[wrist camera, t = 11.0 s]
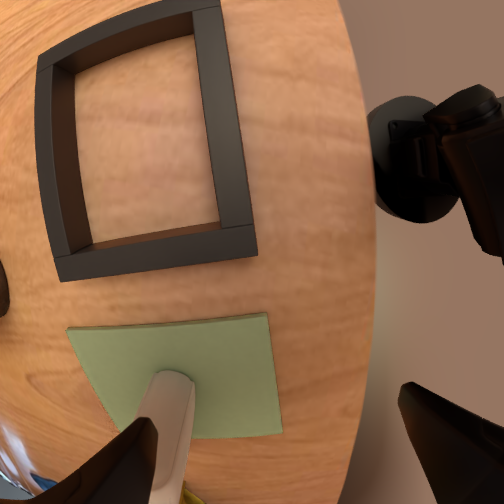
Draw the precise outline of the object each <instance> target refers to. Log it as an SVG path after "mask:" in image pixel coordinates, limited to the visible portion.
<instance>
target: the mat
mask: <svg viewBox="0 0 504 504" xmlns="http://www.w3.org/2000/svg"><path fill="white" fill-rule="evenodd" d="M65 331H66V333H67V336H68V338H69V340H70V342H71V345H72V347H73V349H74V351H75V353H76V356H77V358H78V360H79V362H80V364H81V366H82V368H83V370H84V372H85V374H86V376H87V378H88V379H89V381H90V383H91V385H92V387H93V389H94V390H95V392H96V394H97V396H98V398H99V399H100V401H101V403H102V404H103V406H104V408H105V409H106V411H107V413H108V414H109V416H110V417H111V419H112V420H113V422H114V423H115V425H116V427H117V428H118V430H119V431H120V432H122V431H123V430H124V429H125V428H127V427H128V426H129V425H130V424H131V423H132V422H133V419H134V417H135V414H136V412H137V410H138V407H139V405H140V402H141V400H142V398H143V395H144V393H145V391H146V388H147V386H148V384H149V381H150V379H151V377H152V375H153V374H154V373H159V372H160V371H165V370H170V371H176V372H179V373H181V374H184V375H185V376H187V377H188V378H189V379H190V381H193V382H194V384H195V411H194V421H193V429H192V435H191V439H214V438H239V437H253V436H264V435H273V434H281V433H283V428H282V421H281V413H280V406H279V398H278V391H277V383H276V376H275V368H274V361H273V353H272V346H271V339H270V332H269V324H268V317H267V312H265V313H257V314H250V315H242V316H233V317H225V318H216V319H206V320H196V321H185V322H173V323H160V324H146V325H129V326H107V327H69V328H67V329H66V330H65Z"/></svg>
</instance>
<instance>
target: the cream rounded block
mask: <svg viewBox="0 0 504 504" xmlns="http://www.w3.org/2000/svg"><path fill="white" fill-rule="evenodd" d="M194 411H195V384H194V382H193V381H190V379H189V378H188V377H187V376H185V375H184V374H181V373H179V372H176V371H170V370H165V371H160V372H159V373H154V374H153V375H152V377H151V379H150V381H149V384H148V386H147V388H146V391H145V393H144V395H143V398H142V400H141V402H140V405H139V407H138V410H137V412H136V414H135V417H134V419H133V421H135V420H136V419H137V418H138V417H149V418H150V419H151V420H152V422H153V424H154V425H155V427H156V429H157V431H158V446H157V458H156V469H155V474H154V479H153V484H152V489H151V494H150V499H149V504H179V500H180V495H181V489H182V484H183V479H184V474H185V469H186V464H187V459H188V453H189V447H190V441H191V435H192V429H193V421H194Z"/></svg>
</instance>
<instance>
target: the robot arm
mask: <svg viewBox="0 0 504 504" xmlns="http://www.w3.org/2000/svg"><path fill="white" fill-rule="evenodd" d="M422 116H423V118H424V120H425V122H424V121H410V120H391V121H389V123H388V130H389V136H390V144H389V146H390V154H391V162H392V171H393V174H394V177H395V189H396V195H397V197H399V198H402V199H406V198H418V197H430V196H444V195H448V196H453V197H459V198H460V199H461V201H462V204H463V207H464V210H465V212H466V215H467V218H468V221H469V224H470V227H471V231H472V234H473V237H474V239H475V240H476V242H477V243H478V244H479V245H480V246H481V248H482V251H483V252H485V253H487V254H489V255H493V256H497V257H501V258H502V263H503V265H504V97H500V98H496V96H495V94H494V92H493V91H491V90H489V89H488V88H486V87H484V86H482V85H480V84H477V85H474V86H472V87H469V88H467V89H464V90H461V91H459V92H457V93H455V94H454V95H452V96H451V97H449V98H448V99H446V100H445V101H443V102H442V103H440V104H439V105H437V106H436V107H434V108H433V109H431V110H430V111H428V112H427V113H425V114H424V115H422ZM393 124H395V126H396V128H394V127H393ZM401 190H403V194H402V195H401ZM398 406H399V409H400V411H401V415H402V418H403V421H404V424H405V427H406V430H407V433H408V436H409V438H410V441H411V443H412V445H413V447H414V449H415V452H416V454H417V456H418V458H419V460H420V463H421V465H422V468H423V470H424V472H425V475H426V477H427V479H428V482H429V484H430V487H431V489H432V491H433V494H434V496H435V499H436V501H437V504H504V427H502V426H499V425H497V424H495V423H493V422H490V421H488V420H486V419H484V418H483V419H482V417H480V416H478V415H476V414H474V413H472V412H470V411H468V410H466V409H464V408H462V407H460V406H458V405H456V404H454V403H452V402H450V401H449V400H447V399H445V398H443V397H441V396H439V395H437V394H435V393H433V392H431V391H429V390H428V389H426V388H424V387H422V386H420V385H418V384H416V383H415V382H408V383H405V384H403V385H402V386H401V389H400V393H399V397H398ZM157 446H158V431H157V429H156V427H155V425H154V424H153V422H152V420H151V419H150V418H149V417H138V418H137V419H136V420H135V421H133V422H132V423H131V424H130V425H129V426H128V427H127V428H125V429H124V430H123V431H122V432H121V433H120V434H119V435H117V436H116V437H115V438H114V439H113V440H112V441H111V442H109V443H108V444H107V445H106V446H105V447H104V448H102V449H101V450H100V451H99V452H98V453H96V454H95V455H94V456H93V457H92V458H90V459H89V460H88V461H87V462H86V463H84V464H83V465H82V466H81V467H80V468H79V469H77V470H76V471H74V472H73V473H72V474H71V475H69V476H68V477H67V478H65V479H64V480H62V481H61V482H59V483H58V484H56V485H55V486H53V487H52V488H50V489H48V490H46V491H45V492H43V493H41V494H40V495H38V496H36V497H34V498H32V499H28V500H10V499H0V504H149V499H150V494H151V489H152V484H153V479H154V474H155V469H156V458H157Z"/></svg>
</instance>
